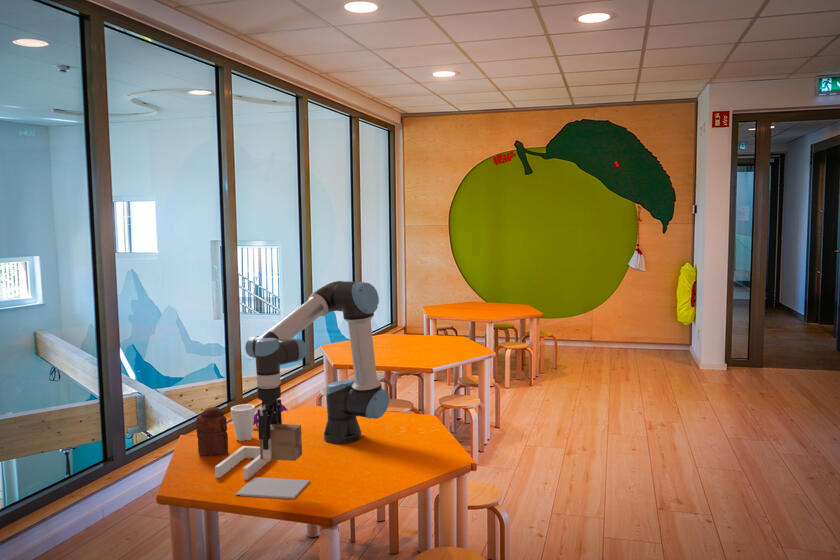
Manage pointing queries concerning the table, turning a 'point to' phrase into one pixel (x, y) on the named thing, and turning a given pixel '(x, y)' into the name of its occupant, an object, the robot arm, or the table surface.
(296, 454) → the walnut block
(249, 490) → the mat
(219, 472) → the bay
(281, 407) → the toy dog
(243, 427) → the foam cup
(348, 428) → the robot arm
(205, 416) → the wooden figurine
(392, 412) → the table surface
